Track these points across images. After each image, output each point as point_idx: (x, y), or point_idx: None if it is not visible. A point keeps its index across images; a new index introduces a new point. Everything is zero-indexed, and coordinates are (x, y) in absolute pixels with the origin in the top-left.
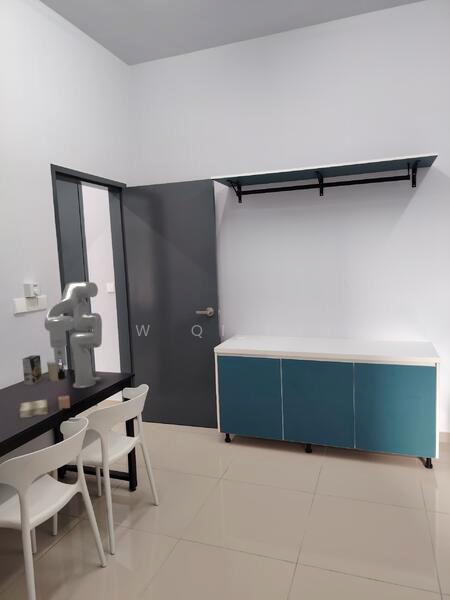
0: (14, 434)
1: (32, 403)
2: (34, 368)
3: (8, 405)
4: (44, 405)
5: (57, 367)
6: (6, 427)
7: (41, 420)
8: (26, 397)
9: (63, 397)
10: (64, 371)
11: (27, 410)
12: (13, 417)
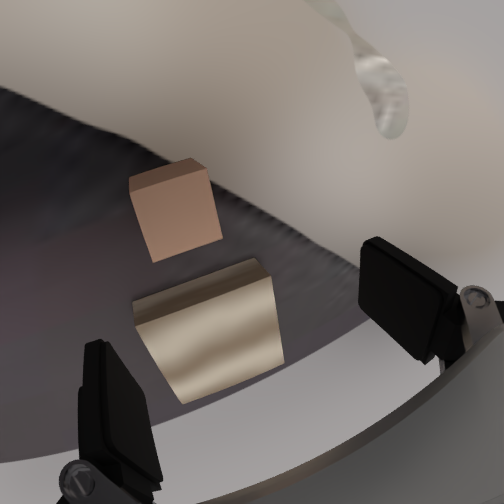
0: None
1: (194, 365)
2: None
3: None
4: (244, 297)
5: (158, 489)
6: (331, 340)
7: (323, 253)
8: (31, 414)
9: (174, 219)
10: (450, 284)
11: (280, 341)
12: None
